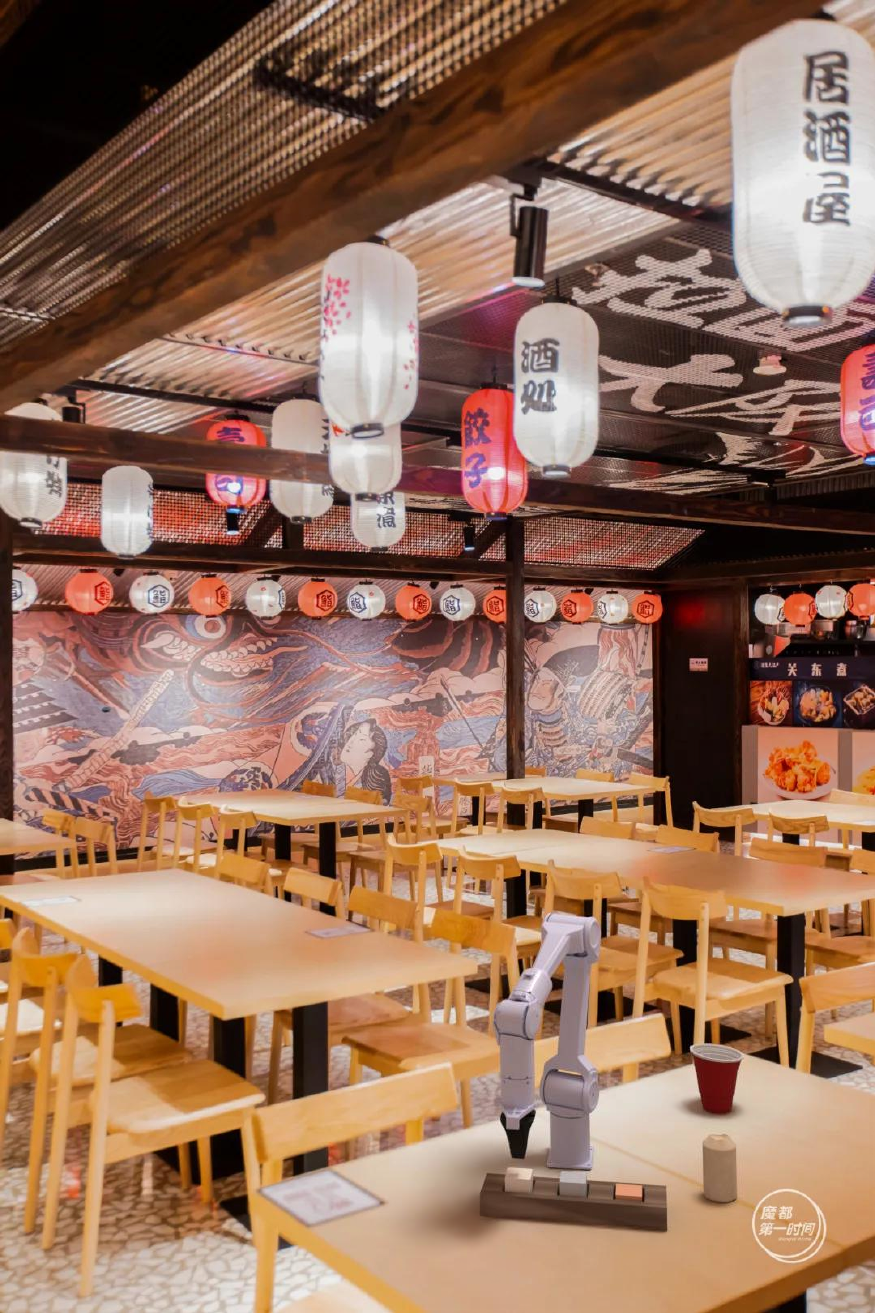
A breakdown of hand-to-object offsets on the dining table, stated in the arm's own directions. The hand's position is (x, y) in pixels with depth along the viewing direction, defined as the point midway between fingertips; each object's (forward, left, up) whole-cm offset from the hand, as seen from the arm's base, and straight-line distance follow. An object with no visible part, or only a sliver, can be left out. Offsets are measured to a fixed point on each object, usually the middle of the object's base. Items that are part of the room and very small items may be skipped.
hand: (518, 1157), depth 180 cm
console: (0, +9, -8) cm, 12 cm away
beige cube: (0, 0, -6) cm, 6 cm away
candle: (-10, +33, -8) cm, 35 cm away
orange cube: (0, +18, -8) cm, 20 cm away
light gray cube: (0, +9, -6) cm, 11 cm away
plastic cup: (-50, +35, -8) cm, 62 cm away
